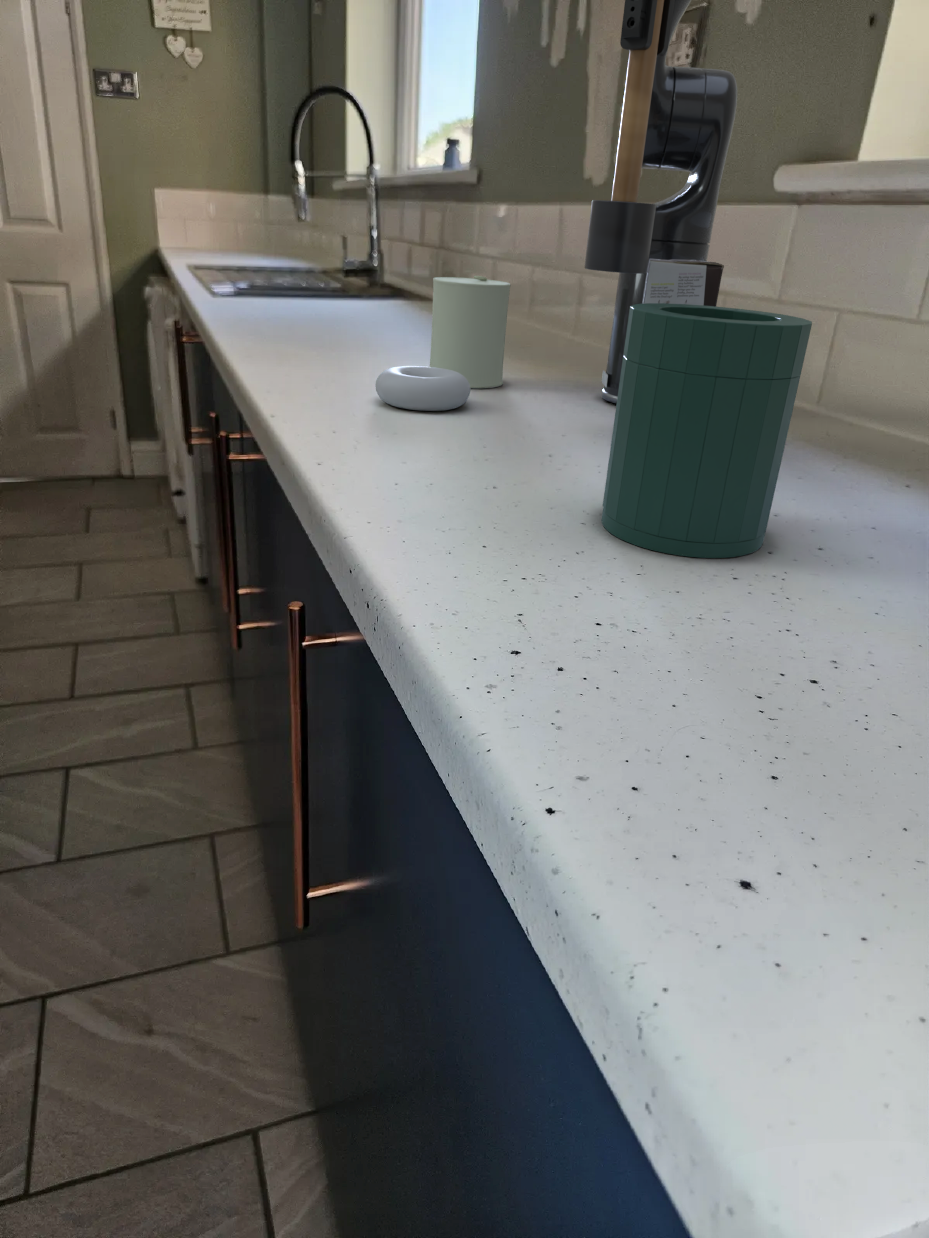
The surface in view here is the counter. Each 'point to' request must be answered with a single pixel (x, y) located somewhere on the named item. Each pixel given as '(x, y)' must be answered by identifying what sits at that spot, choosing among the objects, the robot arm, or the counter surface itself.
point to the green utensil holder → (701, 427)
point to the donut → (422, 388)
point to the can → (470, 328)
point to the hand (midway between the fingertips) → (643, 51)
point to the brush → (627, 177)
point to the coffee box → (682, 282)
